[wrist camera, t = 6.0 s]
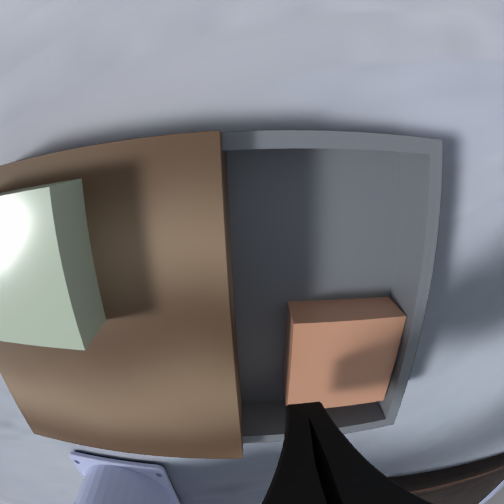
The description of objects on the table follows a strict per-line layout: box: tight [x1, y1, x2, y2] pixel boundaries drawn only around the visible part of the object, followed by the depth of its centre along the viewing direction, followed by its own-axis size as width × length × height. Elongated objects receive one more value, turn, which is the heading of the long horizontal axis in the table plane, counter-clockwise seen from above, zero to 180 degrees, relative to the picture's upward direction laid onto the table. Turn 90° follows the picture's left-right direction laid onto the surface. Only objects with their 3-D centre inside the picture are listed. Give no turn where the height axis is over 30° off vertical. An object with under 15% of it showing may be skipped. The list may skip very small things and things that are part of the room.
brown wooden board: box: [0, 131, 243, 459], centre depth 13 cm, size 14×12×4 cm
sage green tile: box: [0, 178, 106, 350], centre depth 9 cm, size 5×5×2 cm
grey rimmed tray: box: [222, 130, 443, 443], centre depth 13 cm, size 14×8×3 cm, turn 2°
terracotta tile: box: [283, 297, 406, 408], centre depth 14 cm, size 5×5×2 cm
